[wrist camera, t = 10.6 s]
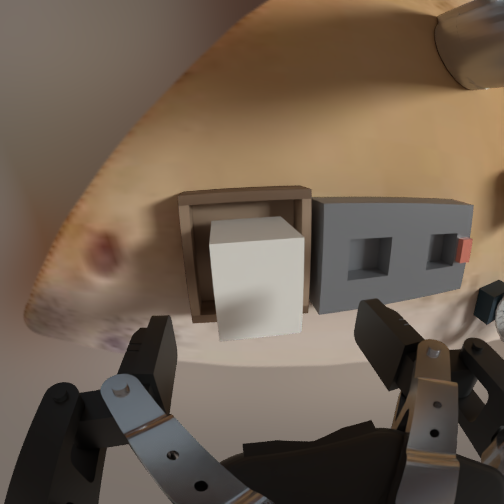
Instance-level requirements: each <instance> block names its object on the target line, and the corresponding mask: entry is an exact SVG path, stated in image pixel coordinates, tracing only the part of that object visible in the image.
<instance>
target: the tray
mask: <svg viewBox="0 0 504 504" xmlns="http://www.w3.org/2000/svg"><path fill="white" fill-rule="evenodd" d="M178 206H179V217H180V228H181V238H182V247H183V256H184V264H185V272H186V280H187V288H188V295H189V302H190V309H191V315H192V322H193V323H206V322H217V315H216V306H215V297H214V288H213V279H212V269H211V258H210V248H209V241H210V231H211V221H218V220H231V219H245V218H261V217H277V216H281V217H282V218H283V219H284V220H285V221H287V222H288V223H289V224H290V225H291V226H292V227H293V228H294V229H296V230H297V231H298V232H299V233H300V234H301V235H302V236H303V237H304V287H303V313H308V305H309V285H310V259H311V189H309V188H306V187H303V186H268V187H245V188H227V189H212V190H199V191H186V192H182V193H181V194H180V195H178Z"/></svg>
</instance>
